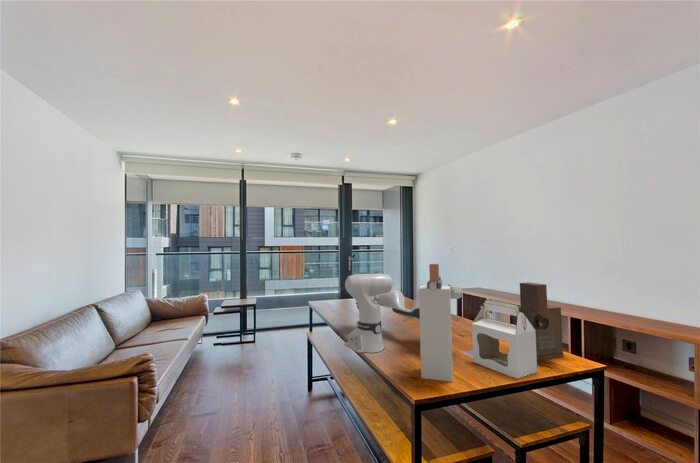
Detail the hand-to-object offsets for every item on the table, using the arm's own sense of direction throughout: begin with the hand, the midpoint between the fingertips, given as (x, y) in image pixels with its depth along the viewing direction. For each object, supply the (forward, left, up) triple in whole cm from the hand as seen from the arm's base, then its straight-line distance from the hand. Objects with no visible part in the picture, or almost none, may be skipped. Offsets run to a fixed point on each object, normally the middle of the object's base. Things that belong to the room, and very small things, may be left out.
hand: (439, 285), depth 151 cm
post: (+9, -18, -34) cm, 40 cm away
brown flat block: (+9, -17, +2) cm, 19 cm away
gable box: (+24, +10, -34) cm, 43 cm away
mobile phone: (+8, +20, -35) cm, 41 cm away
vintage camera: (+30, +34, -34) cm, 57 cm away
